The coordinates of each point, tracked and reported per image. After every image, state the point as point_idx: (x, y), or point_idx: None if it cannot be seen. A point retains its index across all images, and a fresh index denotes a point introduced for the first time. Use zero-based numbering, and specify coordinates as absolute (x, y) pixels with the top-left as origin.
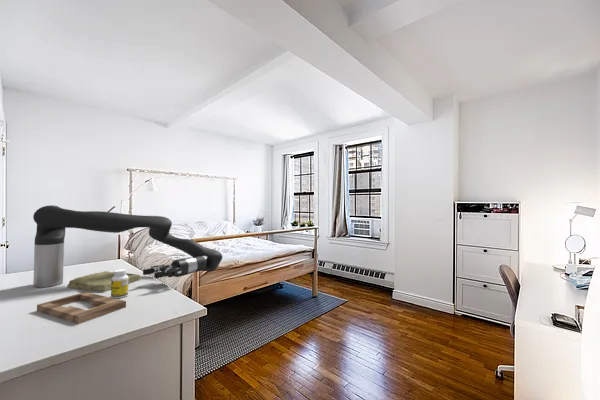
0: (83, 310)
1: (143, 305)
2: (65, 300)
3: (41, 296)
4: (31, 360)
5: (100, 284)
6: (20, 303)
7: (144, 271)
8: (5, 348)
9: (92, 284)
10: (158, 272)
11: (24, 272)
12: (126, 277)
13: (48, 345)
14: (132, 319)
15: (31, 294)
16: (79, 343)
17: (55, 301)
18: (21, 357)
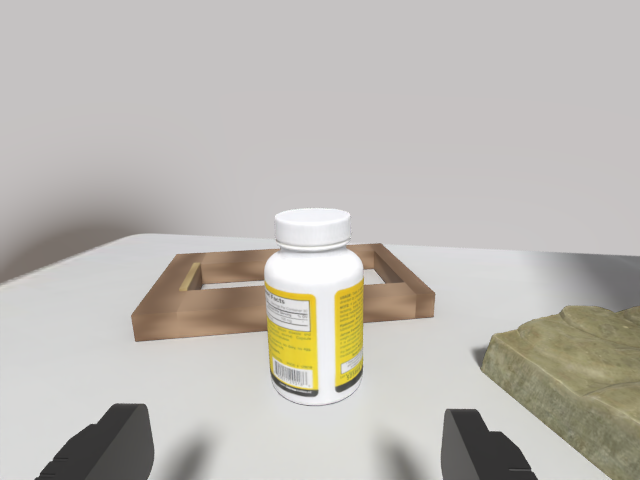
0: (211, 262)
1: (47, 378)
2: (387, 271)
3: (553, 277)
4: (123, 239)
5: (526, 327)
6: (493, 257)
7: (447, 428)
8: (209, 236)
9: (562, 317)
10: (91, 435)
11: None
12: (268, 269)
13: (144, 248)
14: (15, 317)
15: (602, 272)
16: (84, 259)
17: (378, 255)
18: (150, 238)
